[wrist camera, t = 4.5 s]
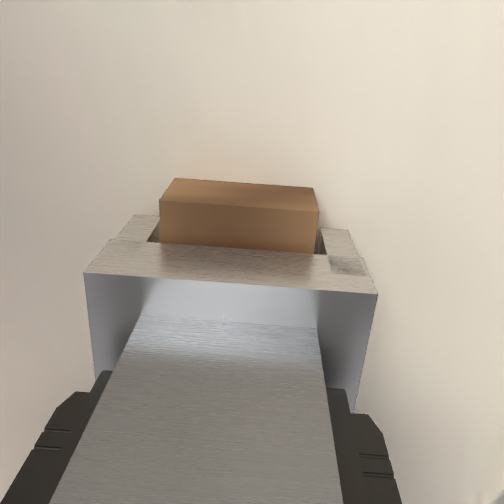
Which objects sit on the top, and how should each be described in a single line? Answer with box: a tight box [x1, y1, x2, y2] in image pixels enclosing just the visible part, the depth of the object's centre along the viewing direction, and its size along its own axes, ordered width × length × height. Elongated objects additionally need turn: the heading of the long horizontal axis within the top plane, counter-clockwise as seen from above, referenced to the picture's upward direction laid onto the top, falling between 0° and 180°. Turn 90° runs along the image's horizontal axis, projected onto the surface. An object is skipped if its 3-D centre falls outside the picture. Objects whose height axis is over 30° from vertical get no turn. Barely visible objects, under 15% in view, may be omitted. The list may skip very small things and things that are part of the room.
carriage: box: [49, 215, 378, 504], centre depth 10 cm, size 6×6×10 cm
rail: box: [159, 178, 319, 254], centre depth 16 cm, size 4×19×2 cm, turn 176°
